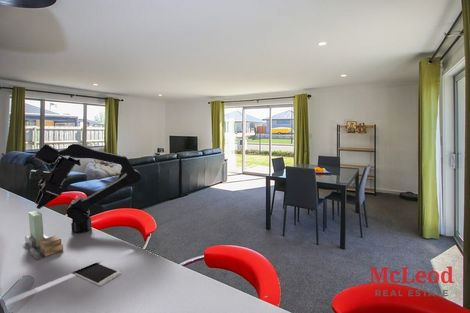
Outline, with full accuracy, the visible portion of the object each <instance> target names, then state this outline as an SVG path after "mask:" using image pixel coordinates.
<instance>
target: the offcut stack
mask: <svg viewBox="0 0 470 313" xmlns="http://www.w3.org/2000/svg"><path fill="white" fill-rule="evenodd" d="M48 237H49V236H48ZM62 250H63V251H64V244H63V243H62V238H61V237H59V236H57V235H53V236H50V237H49V238H46V239H43V240H40V251H41V253H43V254H44V255H45V256H47V255H50V254H53V253H56V252H59V251H62Z"/></svg>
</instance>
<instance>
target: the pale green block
mask: <svg viewBox="0 0 470 313" xmlns="http://www.w3.org/2000/svg"><path fill="white" fill-rule="evenodd" d="M43 220H44V219H43V214H42V213H41V212H40V211H38V210H33V211H29V212H28V222H29V233H30V234H29V236H30V237H31V238H33V239H34V240H35V247H38V246H40V240H43V239H44V234H45V233H44V222H43ZM43 233H44V234H43Z"/></svg>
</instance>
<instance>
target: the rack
mask: <svg viewBox="0 0 470 313" xmlns="http://www.w3.org/2000/svg"><path fill="white" fill-rule="evenodd" d="M43 234H44V239H46V238H49V236H47V235H46V233H44V232H43ZM24 239H25V240H24V241H25V242H24V243H22V244H20V245H21V246H22V247H23V248H24V249H25V250H26V251H27V252H28V253H29V255H30V256H32V257H33V259H34V260H36V261H39V260H43V259H44V258H48V257H51V256H54V255H57V254H59V253H63V252H64V249H63V250H62V251H59V252H56V253H53V254H50V255H47V256H45V255H44V254H43V253H41V251H40V246H38V247H35V240H34V239H33V238H31V236H30V234H25V236H24Z"/></svg>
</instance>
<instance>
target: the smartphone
mask: <svg viewBox="0 0 470 313" xmlns="http://www.w3.org/2000/svg"><path fill="white" fill-rule="evenodd" d="M71 274H73V275H75V276H77V277H79V278H82V279H83V280H85V281H87V282H90V283H92V284H93V285H96V286H99V287H102V286H104V285H105V284H107V283H109V282H111V281H112V280H114V279H116V276H117V277H118V276H121V274H122V272H121V271H119V270H116V269H113V267H109V266H107V265H103V264H101V263H99V262H94V263H90V264H89V265H87V266H85V267H81V268H79V269H78V270H75V271H72V272H71ZM113 278H114V279H113Z"/></svg>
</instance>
